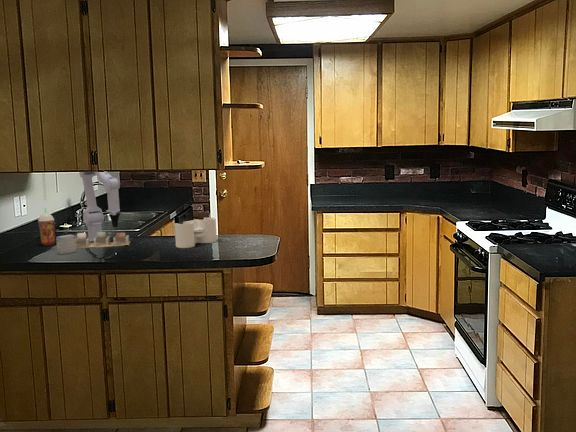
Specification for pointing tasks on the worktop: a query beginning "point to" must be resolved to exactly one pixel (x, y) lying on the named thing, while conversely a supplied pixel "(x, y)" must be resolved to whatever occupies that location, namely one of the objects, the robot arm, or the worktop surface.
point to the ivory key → (81, 236)
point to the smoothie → (47, 228)
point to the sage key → (101, 235)
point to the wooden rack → (102, 242)
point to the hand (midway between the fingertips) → (115, 227)
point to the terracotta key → (120, 235)
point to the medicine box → (66, 244)
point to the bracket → (195, 232)
